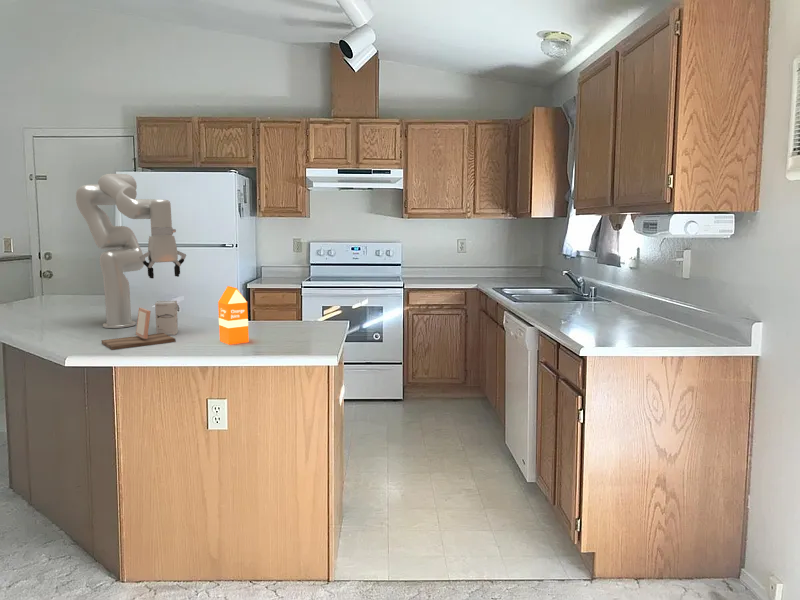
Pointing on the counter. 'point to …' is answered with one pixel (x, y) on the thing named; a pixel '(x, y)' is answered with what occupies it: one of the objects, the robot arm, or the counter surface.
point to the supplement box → (166, 317)
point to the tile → (143, 323)
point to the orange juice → (233, 317)
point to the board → (137, 341)
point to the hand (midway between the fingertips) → (164, 277)
